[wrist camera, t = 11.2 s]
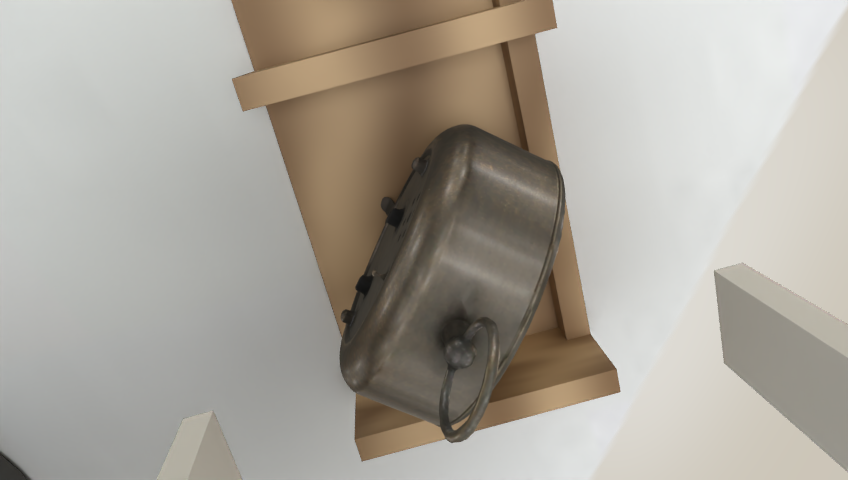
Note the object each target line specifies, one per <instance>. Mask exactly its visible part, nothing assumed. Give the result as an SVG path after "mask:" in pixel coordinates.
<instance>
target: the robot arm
mask: <svg viewBox="0 0 848 480" xmlns="http://www.w3.org/2000/svg"><path fill="white" fill-rule="evenodd" d="M714 276H715V285H716V294H717V303H718V312H719V322H720V331H721V340H722V348H723V358H724V363H725V364H726V365H727V366H728V367H729V368H730V369H731V370H733V371H734V372H735V373H736V374H737V375H738V376H739V377H740V378H742V379H743V380H744V381H745V382H746V383H747V384H748V385H749V386H751V387H752V388H753V389H754V390H755V391H756V392H757V393H759V394H760V395H761V396H762V397H763V398H764V399H765V400H766V401H768V402H769V403H770V404H771V405H772V406H773V407H774V408H776V409H777V410H778V411H779V412H780V413H781V414H782V415H783V416H785V417H786V418H787V419H788V420H789V421H790V422H791V423H793V424H794V425H795V426H796V427H797V428H798V429H799V430H800V431H802V432H803V433H804V434H805V435H806V436H807V437H809V438H810V439H811V440H812V441H813V442H814V443H815V444H816V445H817V446H819V447H820V448H821V449H822V450H823V451H824V452H826V453H827V454H828V455H829V456H830V457H831V458H832V459H833V460H835V461H836V462H837V463H838V464H839V465H840V466H841V467H843V468H844V469H845V470H846V471H847V472H848V324H847V323H845V322H843V321H842V320H840V319H838V318H837V317H835V316H833V315H831V314H830V313H828V312H826V311H825V310H823V309H821V308H819V307H818V306H816V305H814V304H813V303H811V302H809V301H807V300H806V299H804V298H802V297H801V296H799V295H797V294H795V293H794V292H792V291H790V290H789V289H787V288H785V287H783V286H782V285H780V284H778V283H777V282H775V281H773V280H771V279H770V278H768V277H766V276H764V275H763V274H761V273H759V272H758V271H756V270H754V269H752V268H751V267H749V266H747V265H746V264H744V263H740V264H736V265H732V266H729V267H725V268H722V269H718V270H714ZM0 480H27V479H26V478H25V477H24V476H23V475H22V474H21V473H20V472H19V471H18V469H16V468H15V467H14V466H13V465H12V464H11V463H10V462H9V461H7V460H6V459H5V458H4V457H2V456H1V455H0ZM157 480H242V478H241V476H240V473H239V471H238V468H237V466H236V464H235V461H234V459H233V456H232V454H231V452H230V449H229V447H228V445H227V442H226V440H225V437H224V435H223V433H222V430H221V428H220V426H219V423H218V421H217V418H216V416H215V414H214V411H209V412H205V413H202V414H198V415H195V416H191V417H187V418H184V419H183V420H182V423H181V425H180V427H179V430H178V432H177V434H176V436H175V439H174V441H173V443H172V445H171V448H170V450H169V452H168V455H167V457H166V459H165V461H164V464H163V466H162V468H161V471H160V473H159V475H158V477H157Z"/></svg>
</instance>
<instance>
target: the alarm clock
mask: <svg viewBox="0 0 848 480" xmlns="http://www.w3.org/2000/svg"><path fill="white" fill-rule="evenodd" d="M411 167H412V169H413V170H412V172H411V174H410V176H409V178H408V179H407V181H406V183H405V185H404V187H403V189H402V191H401V193H400V195H399V197H398V199H397V201H396V203H395V202H394V201H393V200H392V199H391V198H389V197H384V198H383V199H382V201H381V208H382V210H383V211H384V212H385V213H386V215H387V218H386V220H385V226H384V228H383V230H382V233H381V235H380V237H379V239H378V242H377V244H376V246H375V249H374V251H373V253H372V255H371V258H370V260H369V262H368V265H367V267H366V270H365V272H364V275H362V276H361V277H360V278H359V280H358V282H357V284H356V286H355V289H356V290H357V293H356V295H355V298H354V301H353V304H352V307H351V310H347V309H345V310H343V311H342V313H341V321H342V322H344V323H346V325H345V329H344V333H343V337H342V341H341V347H340V367H341V372H342V375H343V378H344V380H345V381H346V383H347V384H348V386H349V387H350V388H351V389H352V390H353V391H354V392H355V393H357V394H358V395H361V396H363V397H366V398H368V399H371V400H373V401H376V402H378V403H381V404H384V405H386V406H389V407H391V408H394V409H396V410H399V411H402V412H404V413H407V414H409V415H412V416H415V417H417V418H420V419H422V420H425V421H427V422H430V423H432V424H434V425H436V426H438V427H440V428H441V430H442V433H443V434H444V436H445V438H446V439H447V440H448V441H449V442H451V443H454V442H461V441H463V440H466V439H468V438H469V436H470V435H471V434H472V433H473V432H474V431H475V429H476V427H477V426H478V424H479V422H480V420H481V419H482V417H483V415H484V413H485V410H486V408H487V406H488V403H489V401H490V397H491V394H492V391H493V389H494V388H495V386H496V385H497V383H498V382H499V381H500V379H501V378H502V376H503V374H504V373H505V371H506V369H507V368H508V366H509V364H510V363H511V361H512V359H513V358H514V356H515V354H516V352H517V350H518V348H519V346H520V344H521V342H522V341H523V339H524V337H525V335H526V333H527V330H528V328H529V326H530V324H531V322H532V320H533V317H534V315H535V312H536V310H537V308H538V305H539V303H540V301H541V298H542V296H543V293H544V290H545V288H546V285H547V282H548V279H549V276H550V273H551V271H552V268H553V264H554V261H555V258H556V255H557V253H558V248H559V243H560V240H561V237H562V229H563V222H564V215H565V187H564V181H563V177H562V175H561V172H560V170H559V168H558V166H557V165H556V164H555V163H553V162H552V161H550V160H545V159H543V158H541V157H539V156H537V155H534V154H532V153H530V152H528V151H526V150H524V149H522V148H520V147H518V146H516V145H514V144H512V143H509V142H507V141H505V140H503V139H501V138H499V137H497V136H495V135H493V134H491V133H488V132H486V131H484V130H482V129H480V128H478V127H476V126H473V125H470V124H461V125H457V126H453V127H451V128H449V129H447V130H445V131H443V132H442V133H440V134H439V135H438V136H437V137H436V138H435V139H434V140H433V141H432V142H431V143H430V144H429V145H428V147H427V148H426V149H425V151H424V152H423V154H422V155H421V157H417V158H415V159H414V160H413V162H412V165H411ZM469 415H470V416H469ZM468 416H469V418H468V420H467V421H466V422H465V423H464V424H463V425H462V426H461V427H459V428H458V429H457V430H453V428H452V425H454V424H456V423H458V422H461V421H462V420H464V419H465V418H466V417H468Z"/></svg>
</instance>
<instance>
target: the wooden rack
mask: <svg viewBox="0 0 848 480" xmlns="http://www.w3.org/2000/svg"><path fill="white" fill-rule="evenodd" d="M231 1H232V4H233V7H234V10H235V13H236V16H237V19H238V22H239V25H240V28H241V31H242V34H243V37H244V40H245V43H246V46H247V49H248V53H249V56H250V59H251V62H252V65H253V68H254V72H251V73H248V74H245V75H242V76H239V77H236V78H233V79H232V81H233V84H234V87H235V90H236V93H237V96H238V99H239V101H240V104H241V107H242V110H243V111H247V110H250V109H254V108H258V107H262V106H265V105H266V107H267V110H268V114H269V117H270V120H271V123H272V126H273V129H274V132H275V135H276V138H277V141H278V144H279V147H280V150H281V153H282V156H283V159H284V162H285V165H286V168H287V171H288V175H289V178H290V181H291V184H292V187H293V190H294V193H295V196H296V199H297V202H298V205H299V208H300V211H301V214H302V217H303V220H304V223H305V226H306V229H307V232H308V236H309V239H310V242H311V245H312V248H313V251H314V254H315V257H316V260H317V263H318V266H319V269H320V272H321V275H322V278H323V281H324V284H325V287H326V290H327V293H328V297H329V300H330V303H331V306H332V309H333V312H334V315H335V318H336V321H337V324H338V327H339V330H340V333H341V336H342V337H343V333H344V329H345V325H346V323H344V322H342V321H341V313H342V311H343V310H345V309H347V310H351V307H352V304H353V301H354V298H355V295H356V293H357V290H356V289H355V286H356V284H357V282H358V280H359V278H360V277H361V276H362V275H364V272H365V270H366V267H367V265H368V262H369V260H370V258H371V255H372V253H373V251H374V249H375V246H376V244H377V242H378V239H379V237H380V235H381V233H382V230H383V228H384V226H385V220H386V218H387V215H386V213H385V212H384V211H383V210H382V208H381V201H382V199H383V198H384V197H389V198H391V199H392V200H393V201H394V202H395V203H396V201H397V199H398V197H399V195H400V193H401V191H402V189H403V187H404V185H405V183H406V181H407V179H408V178H409V176H410V174H411V172H412V170H413V169H412V167H411V165H412V162H413V160H414V159H415V158H417V157H421V155H422V154H423V152H424V151H425V149H426V148H427V147H428V145H429V144H430V143H431V142H432V141H433V140H434V139H435V138H436V137H437V136H438V135H439V134H440V133H442V132H443V131H445V130H447V129H449V128H451V127H453V126H457V125H461V124H470V125H473V126H476V127H478V128H480V129H482V130H484V131H486V132H488V133H491V134H493V135H495V136H497V137H499V138H501V139H503V140H505V141H507V142H509V143H512V144H514V145H516V146H518V147H520V148H522V149H524V150H526V151H528V152H530V153H532V154H534V155H537V156H539V157H541V158H543V159H545V160H550V161H552V162H553V163H555V164H556V165H557V166H558V168H559V162H558V157H557V152H556V146H555V141H554V135H553V130H552V125H551V119H550V114H549V108H548V103H547V98H546V92H545V87H544V81H543V76H542V71H541V65H540V60H539V54H538V49H537V44H536V38H535V34H536V33H539V32H543V31H547V30H551V29H554V28H557V24H556V18H555V13H554V7H553V1H552V0H231ZM559 170H560V168H559ZM619 392H620V386H619V381H618V375H617V369H616V368H615V366H614V365H613V364H612V362H611V361H610V360H609V358H608V357H607V356H606V354H605V353H604V352H603V350H602V349H601V348H600V346H599V345H598V344H597V342H596V341H595V340H594V338H593V337H592V336H591V334H590V329H589V324H588V319H587V313H586V308H585V303H584V297H583V292H582V286H581V281H580V276H579V270H578V265H577V259H576V254H575V249H574V243H573V238H572V232H571V227H570V222H569V216H568V211H567V205H566V200H565V215H564V222H563V229H562V237H561V240H560V243H559V248H558V253H557V255H556V258H555V261H554V264H553V268H552V271H551V273H550V276H549V279H548V282H547V285H546V288H545V290H544V293H543V296H542V298H541V301H540V303H539V305H538V308H537V310H536V312H535V315H534V317H533V320H532V322H531V324H530V326H529V328H528V330H527V333H526V335H525V337H524V339H523V341H522V342H521V344H520V346H519V348H518V350H517V352H516V354H515V356H514V358H513V359H512V361H511V363H510V364H509V366H508V368H507V369H506V371H505V373H504V374H503V376H502V378H501V379H500V381H499V382H498V383H497V385H496V386H495V388H494V389H493V391H492V394H491V397H490V401H489V403H488V406H487V408H486V410H485V413H484V415H483V417H482V419H481V420H480V422H479V424H478V426H477V427H476V429H475V431H477V430H481V429H485V428H488V427H492V426H496V425H500V424H503V423H507V422H511V421H514V420H518V419H522V418H526V417H529V416H533V415H537V414H541V413H544V412H548V411H552V410H555V409H559V408H563V407H567V406H570V405H574V404H578V403H581V402H585V401H589V400H593V399H596V398H600V397H604V396H608V395H611V394H615V393H619ZM469 416H470V415H469ZM469 416H468V417H466V418H465V419H464V420H462V421H461V422H458V423H456V424H454V425H452V428H453V430H457V429H458V428H459V427H461V426H462V425H463V424H464V423H465V422H466V421H467V420H468V418H469ZM444 439H446V438H445V436H444V434H443V433H442V430H441V428H440V427H438V426H436V425H434V424H432V423H430V422H427V421H425V420H422V419H420V418H417V417H415V416H412V415H409V414H407V413H404V412H402V411H399V410H396V409H394V408H391V407H389V406H386V405H384V404H381V403H378V402H376V401H373V400H371V399H368V398H366V397H363V396H361V395H358V394H357V393H356V408H355V442H356V445H357V448H358V451H359V454H360V457H361V460H362V461H365V460H369V459H373V458H377V457H380V456H384V455H388V454H392V453H395V452H399V451H403V450H406V449H410V448H414V447H418V446H421V445H425V444H429V443H432V442H436V441H440V440H444Z"/></svg>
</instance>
